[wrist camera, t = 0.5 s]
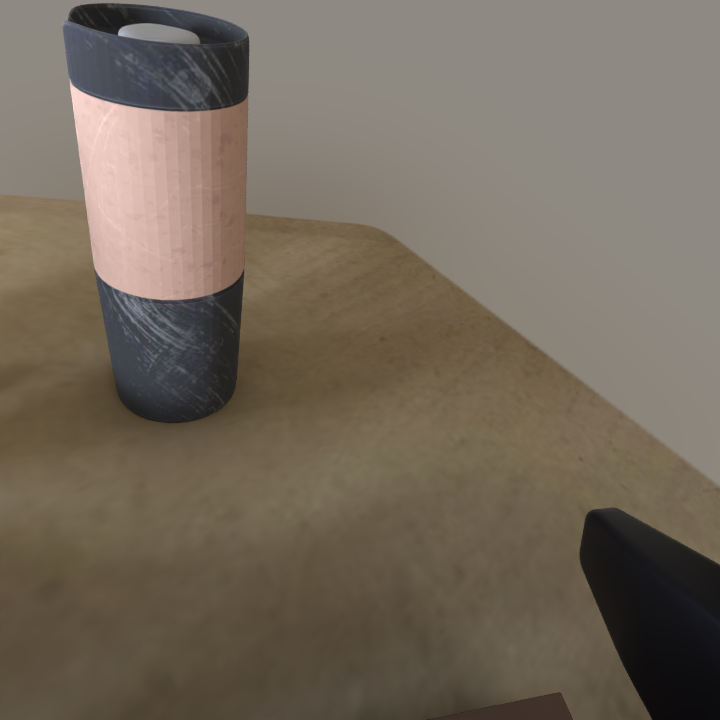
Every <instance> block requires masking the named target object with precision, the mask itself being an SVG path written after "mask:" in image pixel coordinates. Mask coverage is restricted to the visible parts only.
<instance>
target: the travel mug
mask: <svg viewBox="0 0 720 720" xmlns="http://www.w3.org/2000/svg"><path fill="white" fill-rule="evenodd" d="M63 32H64V41H65V49H66V56H67V64H68V72H69V77H70V86H71V94H72V102H73V110H74V117H75V125H76V132H77V140H78V148H79V154H80V163H81V170H82V178H83V185H84V193H85V201H86V208H87V216H88V223H89V231H90V239H91V246H92V254H93V261H94V267H95V274H96V279H97V285H98V290H99V296H100V301H101V307H102V312H103V318H104V323H105V328H106V334H107V339H108V345H109V350H110V356H111V361H112V367H113V372H114V377H115V382H116V386H117V390H118V394H119V396H120V398H121V400H122V402H123V403H124V404H125V406H126V407H127V408H129V409H130V410H131V411H132V412H134V413H135V414H137V415H139V416H141V417H144V418H147V419H150V420H154V421H160V422H170V423H174V422H187V421H192V420H197V419H200V418H203V417H206V416H208V415H210V414H212V413H214V412H216V411H217V410H219V409H220V408H222V407H223V406H224V405H225V404H226V403H227V402H228V401H229V399H230V398H231V396H232V394H233V392H234V389H235V385H236V378H237V367H238V353H239V339H240V324H241V310H242V295H243V281H244V265H245V220H246V174H247V173H246V172H247V170H246V169H247V128H248V125H247V124H248V82H249V37H248V34H247V32H246V31H245V30H244V29H242V28H241V27H239V26H237V25H235V24H233V23H230V22H228V21H225V20H222V19H219V18H215V17H212V16H208V15H204V14H199V13H194V12H189V11H184V10H178V9H171V8H164V7H157V6H147V5H136V4H114V3H101V4H87V5H80V6H76V7H74V8H73V9H72V10H71V11H70V13H69V17H68V21H65V22H64V23H63Z"/></svg>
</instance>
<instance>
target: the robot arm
mask: <svg viewBox="0 0 720 720" xmlns="http://www.w3.org/2000/svg"><path fill="white" fill-rule="evenodd" d="M580 563H581V566H582V569H583V572H584V574H585V577H586V579H587V581H588V584H589V586H590V588H591V591H592V593H593V596H594V598H595V600H596V603H597V605H598V607H599V610H600V612H601V615H602V617H603V619H604V622H605V624H606V626H607V629H608V631H609V634H610V636H611V638H612V641H613V643H614V645H615V648H616V650H617V652H618V654H619V657H620V659H621V661H622V663H623V666H624V667H625V669H626V671H627V673H628V675H629V677H630V679H631V681H632V683H633V685H634V687H635V688H636V690H637V692H638V694H639V696H640V698H641V700H642V701H643V703H644V705H645V707H646V709H647V711H648V712H649V714H650V716H651V718H652V720H720V565H719V564H718V563H716V562H714V561H712V560H710V559H709V558H707V557H705V556H703V555H701V554H700V553H698V552H696V551H694V550H692V549H690V548H689V547H687V546H685V545H683V544H681V543H680V542H678V541H676V540H674V539H672V538H671V537H669V536H667V535H665V534H663V533H662V532H660V531H658V530H656V529H654V528H652V527H651V526H649V525H647V524H645V523H643V522H642V521H640V520H638V519H636V518H634V517H633V516H631V515H629V514H627V513H625V512H624V511H622V510H620V509H617V508H604V509H595V510H591V511H589V512H588V514H587V515H586V519H585V524H584V529H583V535H582V541H581V546H580Z"/></svg>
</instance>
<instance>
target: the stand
mask: <svg viewBox="0 0 720 720" xmlns="http://www.w3.org/2000/svg"><path fill="white" fill-rule="evenodd" d="M427 720H573V718H572V716H571V714H570V712H569V710H568V707H567V705H566V703H565V701H564V699H563V697H562V694H561V693H560V692H558V693H554V694H549V695H544V696H539V697H534V698H529V699H524V700H520V701H515V702H510V703H505V704H500V705H495V706H490V707H485V708H481V709H476V710H471V711H466V712H461V713H456V714H451V715H447V716H442V717H437V718H432V719H427Z"/></svg>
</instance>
